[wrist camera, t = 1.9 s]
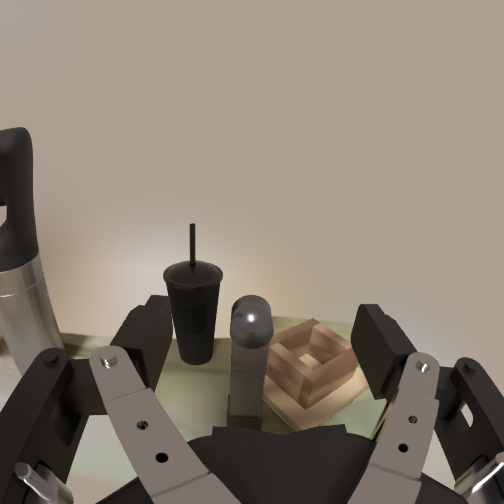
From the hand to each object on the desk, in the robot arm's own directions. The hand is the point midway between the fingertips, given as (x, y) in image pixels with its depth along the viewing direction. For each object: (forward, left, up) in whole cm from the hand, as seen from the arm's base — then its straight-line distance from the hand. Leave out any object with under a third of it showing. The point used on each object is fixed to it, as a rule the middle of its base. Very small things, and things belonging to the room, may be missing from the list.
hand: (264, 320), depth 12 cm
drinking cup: (-23, +7, -23) cm, 33 cm away
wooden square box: (-10, +17, -23) cm, 30 cm away
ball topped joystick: (-9, +6, -23) cm, 25 cm away
